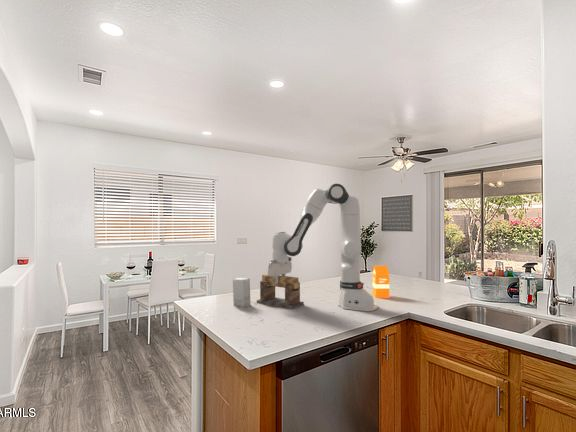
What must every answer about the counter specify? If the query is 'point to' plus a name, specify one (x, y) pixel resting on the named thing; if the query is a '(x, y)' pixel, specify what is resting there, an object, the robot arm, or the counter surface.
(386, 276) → the orange juice
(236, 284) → the skincare box
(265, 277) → the oak rail
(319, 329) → the counter surface
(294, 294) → the slotted posts
